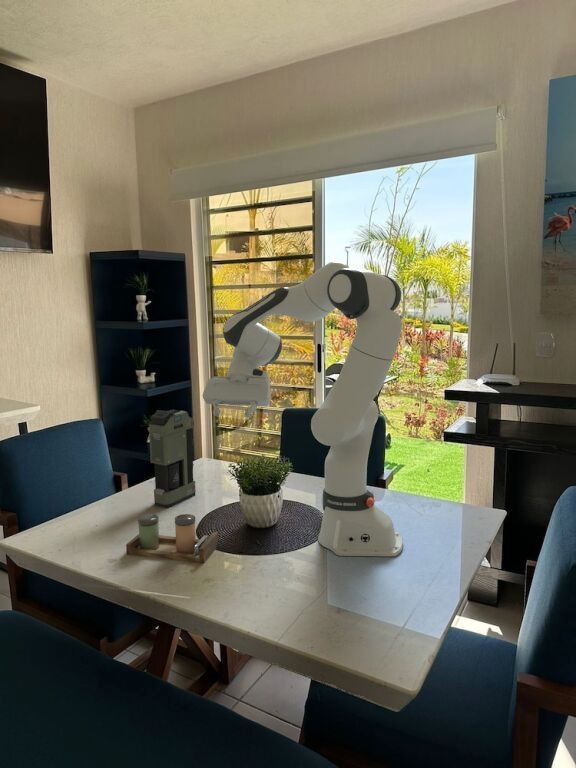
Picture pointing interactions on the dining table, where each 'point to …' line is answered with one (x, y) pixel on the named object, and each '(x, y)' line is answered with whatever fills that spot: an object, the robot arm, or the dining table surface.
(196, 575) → the dining table surface
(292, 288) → the robot arm
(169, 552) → the wooden tray
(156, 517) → the olive jar
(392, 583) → the dining table surface
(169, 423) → the device
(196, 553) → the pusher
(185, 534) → the terracotta jar
